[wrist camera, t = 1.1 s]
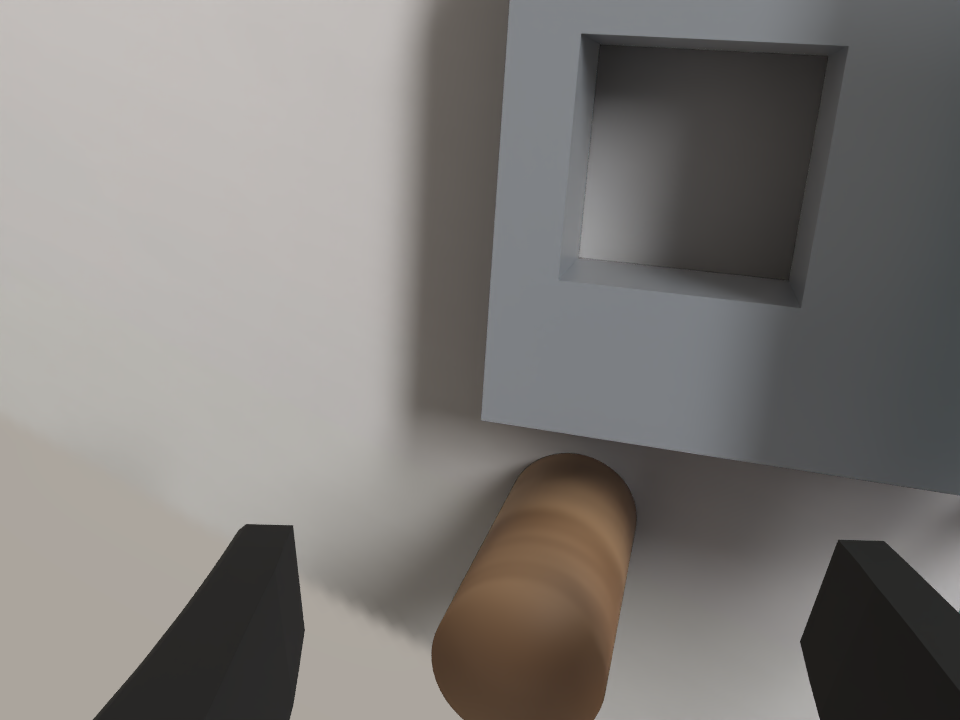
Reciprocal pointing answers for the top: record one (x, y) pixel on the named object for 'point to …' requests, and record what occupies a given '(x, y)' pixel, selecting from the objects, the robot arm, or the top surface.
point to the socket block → (734, 298)
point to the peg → (541, 598)
